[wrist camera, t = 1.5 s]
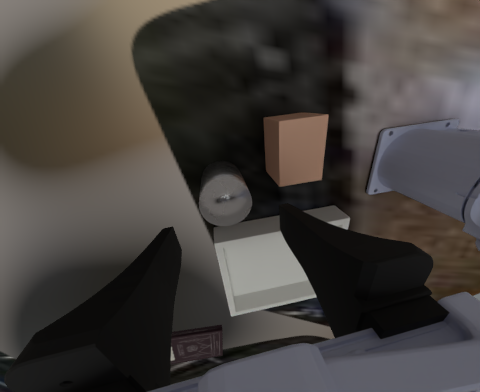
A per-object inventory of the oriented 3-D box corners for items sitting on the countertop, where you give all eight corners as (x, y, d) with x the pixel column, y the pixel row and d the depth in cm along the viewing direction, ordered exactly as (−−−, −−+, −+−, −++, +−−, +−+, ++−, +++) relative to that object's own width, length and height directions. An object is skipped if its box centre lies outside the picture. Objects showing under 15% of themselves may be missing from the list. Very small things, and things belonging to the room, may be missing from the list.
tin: (239, 157, 19) (249, 175, 14) (243, 194, 21) (253, 221, 16) (197, 164, 19) (193, 184, 14) (205, 200, 21) (204, 230, 16)
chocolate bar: (222, 355, 36) (124, 372, 33) (222, 349, 37) (126, 365, 34) (222, 330, 32) (110, 347, 29) (221, 324, 33) (113, 340, 30)
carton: (302, 112, 18) (328, 114, 14) (299, 165, 21) (321, 179, 17) (263, 117, 18) (279, 121, 14) (265, 170, 20) (279, 186, 16)
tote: (334, 205, 24) (350, 217, 21) (323, 276, 30) (334, 293, 28) (213, 227, 22) (214, 243, 20) (229, 297, 29) (231, 316, 26)
